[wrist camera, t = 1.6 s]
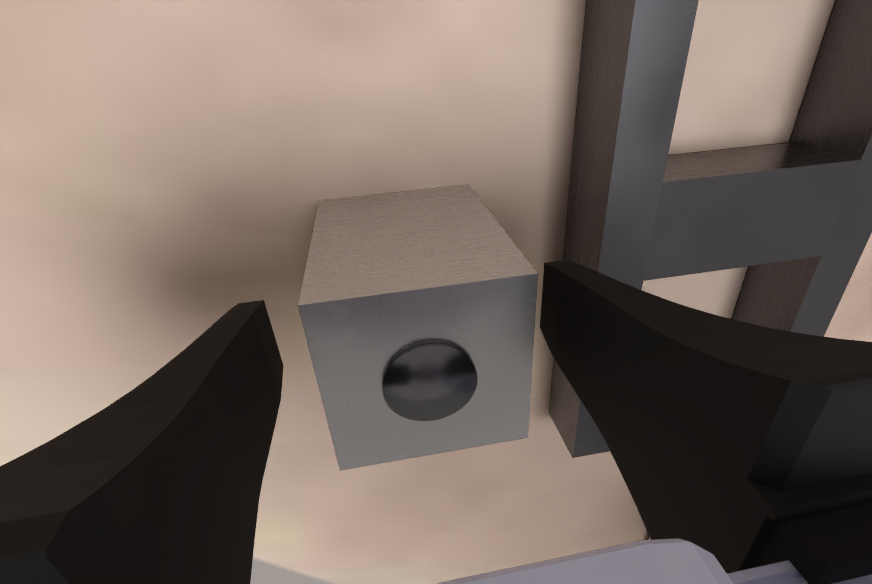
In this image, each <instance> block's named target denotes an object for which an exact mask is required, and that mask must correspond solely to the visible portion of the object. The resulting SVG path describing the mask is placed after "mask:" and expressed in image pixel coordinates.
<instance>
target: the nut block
mask: <svg viewBox="0 0 872 584" xmlns="http://www.w3.org/2000/svg"><path fill="white" fill-rule="evenodd" d="M537 280H538V273H537V272H536V270H535V269H534V268H533V267H532V265H531V264H530V263H529V261H528V260H527V259H526V258H525V256H524V255H523V254H522V252H521V251H520V250H519V249H518V247H517V246H516V245H515V243H514V242H513V241H512V240H511V238H510V237H509V236H508V234H507V233H506V232H505V231H504V229H503V228H502V227H501V225H500V224H499V223H498V222H497V220H496V219H495V218H494V216H493V215H492V214H491V213H490V211H489V210H488V209H487V207H486V206H485V205H484V204H483V202H482V201H481V200H480V199H479V197H478V196H477V195H476V193H475V192H474V191H473V190H472V188H471V187H470V186H469V184H467V185H458V186H449V187H439V188H430V189H421V190H412V191H403V192H393V193H384V194H375V195H366V196H357V197H348V198H338V199H329V200H320V201H319V203H318V208H317V213H316V218H315V223H314V228H313V233H312V238H311V243H310V248H309V253H308V258H307V263H306V268H305V273H304V278H303V283H302V288H301V293H300V298H299V303H298V307H299V311H300V315H301V319H302V323H303V327H304V331H305V335H306V339H307V343H308V347H309V351H310V355H311V358H312V362H313V366H314V370H315V374H316V378H317V382H318V386H319V390H320V394H321V398H322V402H323V406H324V410H325V413H326V417H327V421H328V425H329V429H330V433H331V437H332V441H333V445H334V449H335V453H336V457H337V461H338V464H339V468H340V470H346V469H351V468H357V467H363V466H368V465H374V464H380V463H386V462H391V461H397V460H403V459H409V458H414V457H420V456H426V455H432V454H437V453H443V452H449V451H455V450H460V449H466V448H472V447H477V446H483V445H489V444H495V443H500V442H506V441H512V440H518V439H523V438H528V427H529V410H530V394H531V378H532V361H533V345H534V329H535V313H536V296H537Z"/></svg>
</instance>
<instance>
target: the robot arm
mask: <svg viewBox="0 0 872 584" xmlns="http://www.w3.org/2000/svg"><path fill="white" fill-rule="evenodd" d="M540 328H541V331H542V333H543V335H544V338H545V340H546V342H547V345H548V347H549V349H550V351H551V353H552V355H553V357H554V359H555V361H556V362H557V364H558V366H559V367H560V369H561V370H562V372H563V373H564V375H565V377H566V378H567V380H568V381H569V383H570V384H571V386H572V388H573V389H574V391H575V392H576V394H577V395H578V397H579V398H580V400H581V402H582V403H583V405H584V406H585V408H586V409H587V411H588V412H589V414H590V416H591V417H592V419H593V420H594V422H595V423H596V425H597V427H598V429H599V430H600V432H601V434H602V436H603V437H604V439H605V441H606V443H607V445H608V447H609V449H610V451H611V453H612V455H613V457H614V460H615V462H616V464H617V466H618V468H619V470H620V472H621V474H622V476H623V478H624V480H625V482H626V485H627V487H628V489H629V491H630V493H631V495H632V498H633V500H634V502H635V504H636V506H637V508H638V511H639V513H640V515H641V518H642V520H643V522H644V525H645V527H646V529H647V532H648V534H649V539H648V540H641V541H636V542H631V543H627V544H622V545H617V546H612V547H607V548H603V549H598V550H593V551H588V552H584V553H579V554H574V555H569V556H565V557H560V558H555V559H550V560H546V561H541V562H536V563H531V564H526V565H522V566H517V567H512V568H507V569H503V570H498V571H493V572H488V573H484V574H479V575H474V576H469V577H464V578H460V579H455V580H450V581H445V582H441V583H437V584H872V342H865V341H855V340H845V339H836V338H829V337H822V336H816V335H809V334H802V333H796V332H790V331H785V330H779V329H774V328H768V327H764V326H759V325H755V324H750V323H746V322H741V321H736V320H732V319H728V318H724V317H720V316H717V315H713V314H710V313H706V312H703V311H700V310H696V309H693V308H689V307H686V306H683V305H680V304H677V303H674V302H671V301H669V300H666V299H663V298H660V297H658V296H655V295H652V294H650V293H647V292H644V291H642V290H639V289H637V288H635V287H632V286H630V285H627V284H625V283H623V282H620V281H618V280H616V279H613V278H611V277H609V276H606V275H604V274H602V273H599V272H597V271H595V270H592V269H590V268H588V267H585V266H583V265H580V264H577V263H575V262H571V261H568V260H564V261H556V262H549V263H544V277H543V291H542V305H541V320H540ZM282 376H283V363H282V360H281V356H280V353H279V350H278V346H277V343H276V340H275V336H274V333H273V330H272V326H271V323H270V320H269V316H268V313H267V310H266V306H265V303H264V300H262V301H254V302H247V303H239V304H237V305H236V306H234V307H233V308H232V309H230V310H229V311H228V312H227V313H226V314H225V315H223V316H222V317H221V318H220V319H219V320H218V321H217V322H215V323H214V324H213V325H212V326H211V327H210V328H209V329H208V330H206V331H205V332H204V333H203V334H202V335H201V336H200V337H198V338H197V339H196V340H195V341H194V342H193V343H192V344H190V345H189V346H188V347H187V348H186V349H185V350H183V351H182V352H181V353H180V354H179V355H177V356H176V357H175V358H174V359H172V360H171V361H170V362H169V363H167V364H166V365H165V366H164V367H162V368H161V369H160V370H159V371H157V372H156V373H155V374H154V375H152V376H151V377H150V378H148V379H147V380H146V381H144V382H143V383H142V384H140V385H139V386H137V387H136V388H135V389H133V390H132V391H130V392H129V393H127V394H126V395H124V396H123V397H121V398H120V399H118V400H117V401H115V402H114V403H112V404H111V405H109V406H108V407H106V408H105V409H103V410H102V411H100V412H98V413H97V414H95V415H93V416H92V417H90V418H88V419H86V420H85V421H83V422H81V423H80V424H78V425H76V426H74V427H73V428H71V429H69V430H68V431H66V432H64V433H63V434H61V435H59V436H57V437H56V438H54V439H52V440H50V441H49V442H47V443H45V444H43V445H41V446H39V447H37V448H35V449H34V450H32V451H30V452H28V453H26V454H24V455H22V456H20V457H18V458H16V459H14V460H12V461H10V462H8V463H6V464H4V465H2V466H0V584H250V579H251V569H252V559H253V548H254V538H255V529H256V521H257V512H258V503H259V496H260V491H261V485H262V480H263V475H264V471H265V467H266V462H267V458H268V454H269V449H270V445H271V441H272V436H273V432H274V428H275V423H276V419H277V414H278V410H279V405H280V400H281V390H282Z"/></svg>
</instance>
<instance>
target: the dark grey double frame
mask: <svg viewBox="0 0 872 584" xmlns="http://www.w3.org/2000/svg"><path fill="white" fill-rule="evenodd" d="M697 5H698V0H587V1H586V12H585V23H584V34H583V44H582V55H581V66H580V77H579V88H578V99H577V110H576V121H575V132H574V143H573V154H572V165H571V176H570V187H569V198H568V209H567V220H566V230H565V241H564V252H563V261H564V260H568V261H571V262H575V263H577V264H580V265H583V266H585V267H588V268H590V269H592V270H595V271H597V272H599V273H602V274H604V275H606V276H609V277H611V278H613V279H616V280H618V281H620V282H623V283H625V284H627V285H630V286H632V287H635V288H637V289H639V290H641V289H642V284H643V281H644V280H652V279H659V278H666V277H673V276H680V275H688V274H695V273H702V272H709V271H717V270H724V269H731V268H738V267H745V266H749V269H748V272H747V275H746V278H745V281H744V284H743V287H742V290H741V293H740V296H739V299H738V302H737V305H736V308H735V312H734V315H733V318H732V320H736V321H741V322H746V323H750V324H755V325H759V326H764V327H768V328H774V329H779V330H785V331H790V332H796V333H802V334H809V335H816V336H822V337H824V334H825V332H826V330H827V328H828V326H829V324H830V321H831V319H832V317H833V315H834V313H835V311H836V308H837V306H838V304H839V302H840V300H841V298H842V295H843V293H844V291H845V289H846V287H847V285H848V282H849V280H850V278H851V276H852V274H853V272H854V269H855V267H856V265H857V263H858V261H859V259H860V256H861V254H862V252H863V250H864V248H865V246H866V243H867V241H868V239H869V237H870V235H871V233H872V0H836V3H835V6H834V9H833V12H832V15H831V18H830V21H829V24H828V27H827V30H826V33H825V36H824V39H823V43H822V46H821V49H820V52H819V55H818V58H817V61H816V64H815V67H814V70H813V73H812V76H811V79H810V82H809V85H808V88H807V91H806V94H805V98H804V101H803V104H802V107H801V110H800V113H799V116H798V119H797V122H796V125H795V128H794V131H793V134H792V137H791V140H790V142H788V143H779V144H770V145H760V146H751V147H742V148H732V149H723V150H714V151H704V152H695V153H685V154H676V155H668V152H669V147H670V142H671V137H672V132H673V127H674V122H675V117H676V112H677V107H678V102H679V97H680V91H681V86H682V81H683V76H684V71H685V66H686V61H687V56H688V51H689V46H690V41H691V36H692V31H693V25H694V20H695V15H696V10H697ZM549 414H550V416H551V418H552V419H553V421H554V423H555V425H556V427H557V429H558V431H559V433H560V435H561V437H562V439H563V441H564V442H565V444H566V446H567V448H568V450H569V452H570V454H571V456H572V458H574V457H580V456H585V455H591V454H596V453H602V452H608V451H610V449H609V447H608V445H607V443H606V441H605V439H604V437H603V436H602V434H601V432H600V430H599V429H598V427H597V425H596V423H595V422H594V420H593V419H592V417H591V416H590V414H589V412H588V411H587V409H586V408H585V406H584V405H583V403H582V402H581V400H580V398H579V397H578V395H577V394H576V392H575V391H574V389H573V388H572V386H571V384H570V383H569V381H568V380H567V378H566V377H565V375H564V373H563V372H562V370H561V369H560V367H559V366H558V364H557V362H556V361H555V359H554V362H553V373H552V384H551V395H550V406H549Z"/></svg>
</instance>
